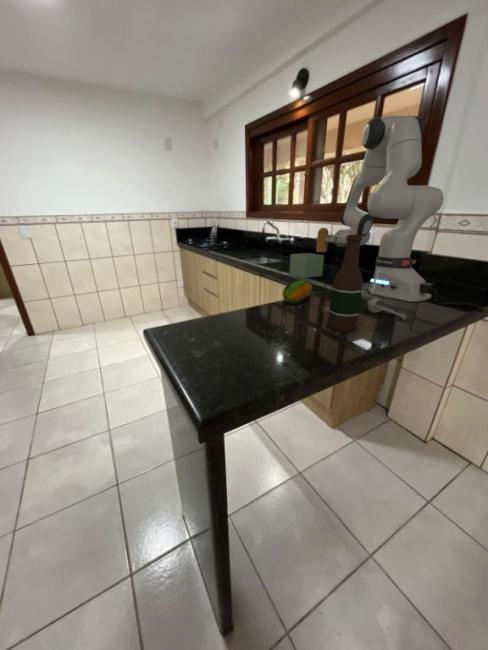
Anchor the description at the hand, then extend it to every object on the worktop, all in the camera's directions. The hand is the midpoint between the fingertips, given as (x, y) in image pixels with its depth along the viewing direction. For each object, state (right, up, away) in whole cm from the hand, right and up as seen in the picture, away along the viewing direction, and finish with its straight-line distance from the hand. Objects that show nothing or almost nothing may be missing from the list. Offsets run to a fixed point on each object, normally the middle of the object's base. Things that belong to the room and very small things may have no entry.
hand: (321, 238), depth 135 cm
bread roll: (+1, -6, +3) cm, 6 cm away
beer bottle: (-13, -45, -63) cm, 78 cm away
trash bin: (-6, -17, +9) cm, 20 cm away
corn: (-20, -35, -37) cm, 55 cm away
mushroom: (+4, -41, -53) cm, 67 cm away
